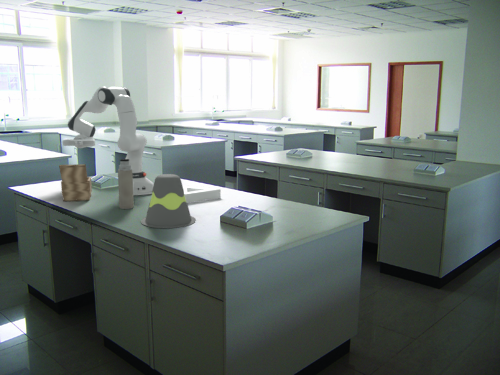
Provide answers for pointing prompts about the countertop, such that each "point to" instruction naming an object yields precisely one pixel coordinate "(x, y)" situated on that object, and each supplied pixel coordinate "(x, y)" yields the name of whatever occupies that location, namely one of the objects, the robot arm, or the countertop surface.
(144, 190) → the robot arm
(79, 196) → the carton
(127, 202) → the thermos bottle
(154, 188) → the grey tapered cylinder
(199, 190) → the triangular ruler
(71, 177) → the carton flap
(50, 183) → the countertop surface
